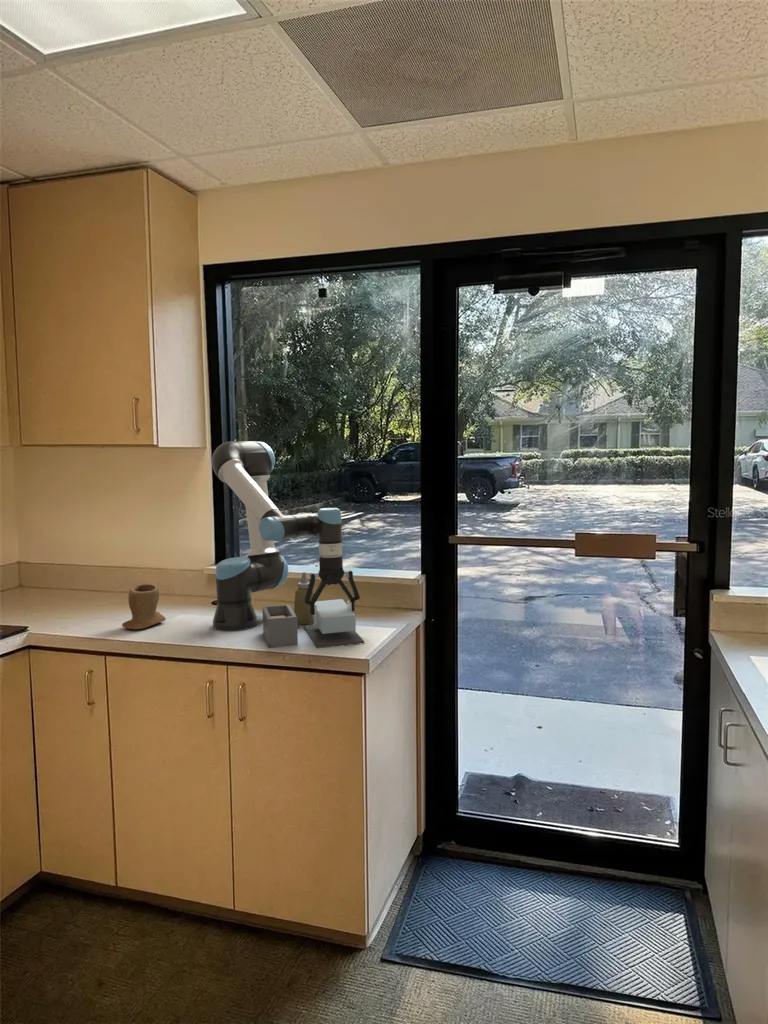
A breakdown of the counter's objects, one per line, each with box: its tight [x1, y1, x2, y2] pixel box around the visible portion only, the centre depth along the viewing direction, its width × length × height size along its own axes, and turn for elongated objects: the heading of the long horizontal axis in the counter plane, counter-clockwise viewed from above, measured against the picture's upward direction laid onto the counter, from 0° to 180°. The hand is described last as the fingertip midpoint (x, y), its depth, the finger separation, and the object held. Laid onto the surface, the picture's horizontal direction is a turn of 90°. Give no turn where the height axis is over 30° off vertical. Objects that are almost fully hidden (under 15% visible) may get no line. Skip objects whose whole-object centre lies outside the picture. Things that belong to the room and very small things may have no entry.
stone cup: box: [121, 583, 166, 630], centre depth 228 cm, size 15×12×15 cm
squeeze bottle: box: [293, 571, 315, 626], centre depth 228 cm, size 8×8×18 cm
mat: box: [303, 624, 365, 649], centre depth 212 cm, size 24×15×1 cm, turn 16°
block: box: [312, 598, 357, 634], centre depth 211 cm, size 20×11×5 cm, turn 16°
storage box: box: [261, 604, 299, 649], centre depth 209 cm, size 18×9×9 cm, turn 16°
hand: (332, 622), depth 212 cm, fingers closed on block, 11 cm apart
